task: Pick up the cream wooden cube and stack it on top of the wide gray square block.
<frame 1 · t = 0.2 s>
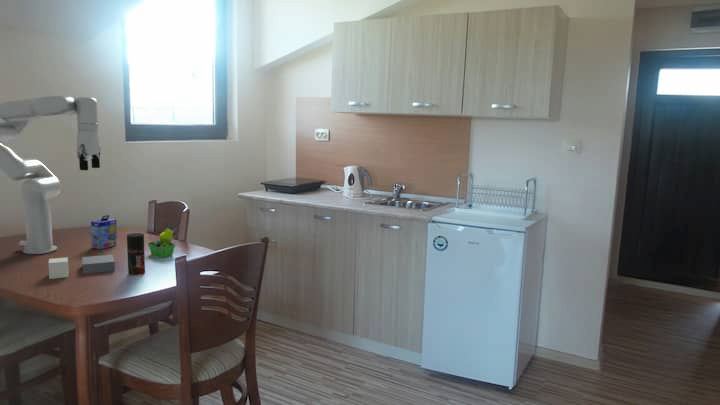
hand: (90, 169, 221), 37 cm above the table, tool pointing down, fingers open, 9 cm apart
green potted plant: (163, 255, 228), on the table
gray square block: (98, 269, 206), on the table
deodorant: (136, 273, 201), on the table
cream cube: (59, 275, 195), on the table
ink cartridge box: (104, 246, 239), on the table
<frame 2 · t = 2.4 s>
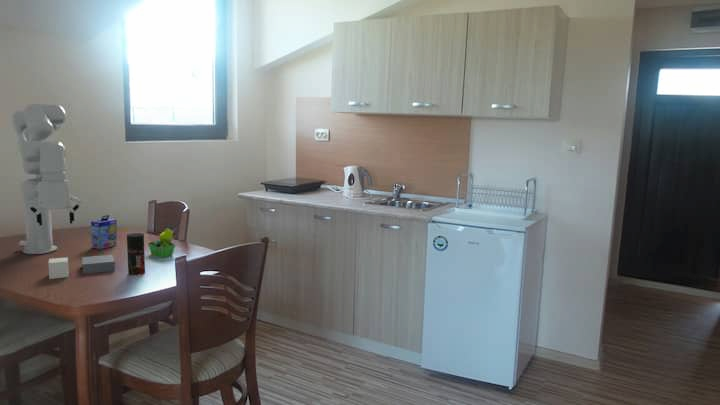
hand: (56, 223, 192), 20 cm above the table, tool pointing down, fingers open, 9 cm apart
nothing on the table moved.
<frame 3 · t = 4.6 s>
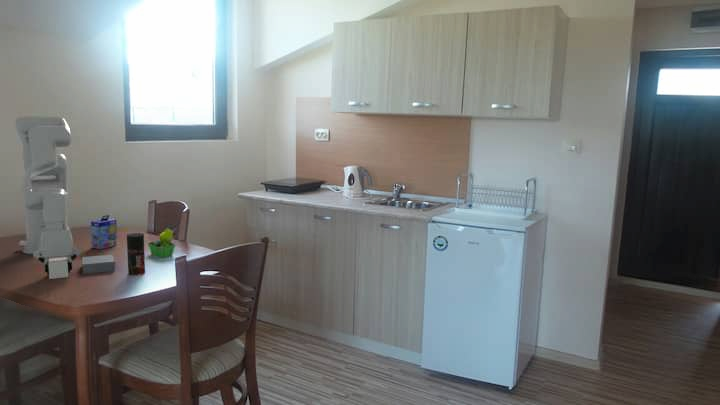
hand: (58, 272, 195), 1 cm above the table, tool pointing down, fingers closed on cream cube, 6 cm apart
cream cube: (59, 275, 195), on the table, touching gripper
everything else where it was.
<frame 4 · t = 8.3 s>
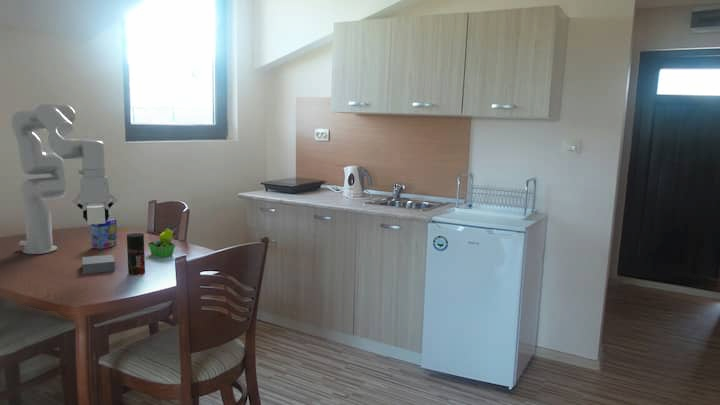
hand: (96, 219, 203), 19 cm above the table, tool pointing down, fingers closed on cream cube, 6 cm apart
cream cube: (96, 222, 203), point 18 cm above the table, touching gripper
everything else where it was.
when the fingers open (5 cm above the table, at t = 12.1 s): cream cube stays where it is, point 4 cm above the table.
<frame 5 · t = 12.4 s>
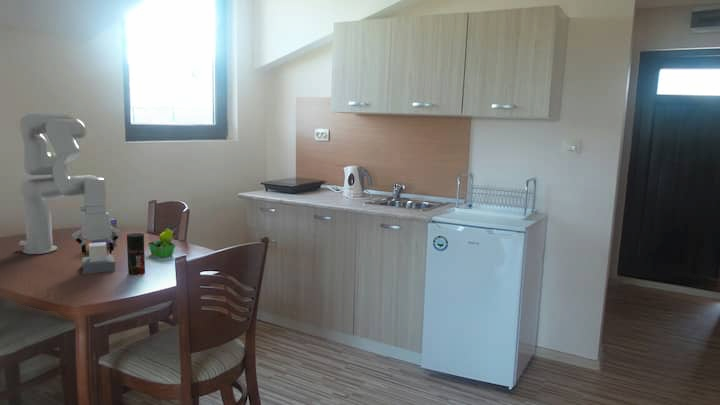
hand: (97, 253, 205), 6 cm above the table, tool pointing down, fingers open, 8 cm apart
cream cube: (98, 259, 205), point 4 cm above the table
everything else where it was.
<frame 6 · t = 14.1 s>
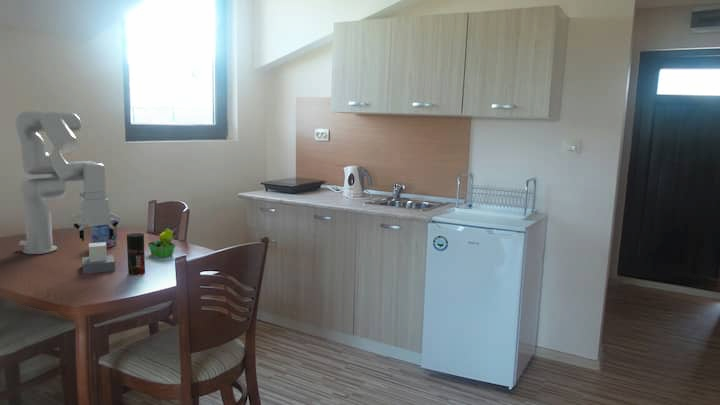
hand: (96, 239, 204), 12 cm above the table, tool pointing down, fingers open, 9 cm apart
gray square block: (98, 269, 206), on the table, touching cream cube
cream cube: (98, 259, 205), point 3 cm above the table, touching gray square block
everything else where it was.
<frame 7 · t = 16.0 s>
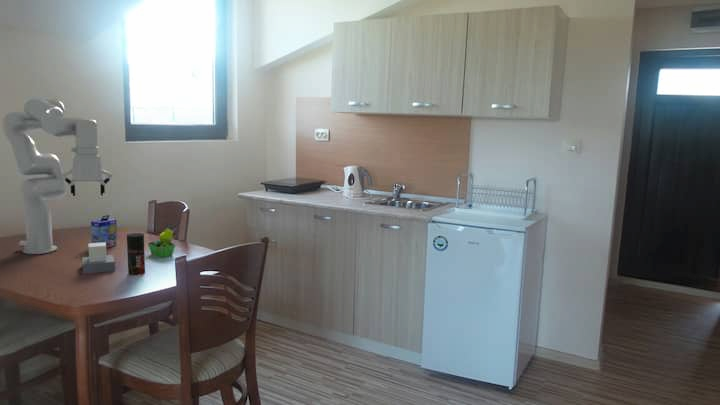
hand: (88, 195, 206), 28 cm above the table, tool pointing down, fingers open, 9 cm apart
nothing on the table moved.
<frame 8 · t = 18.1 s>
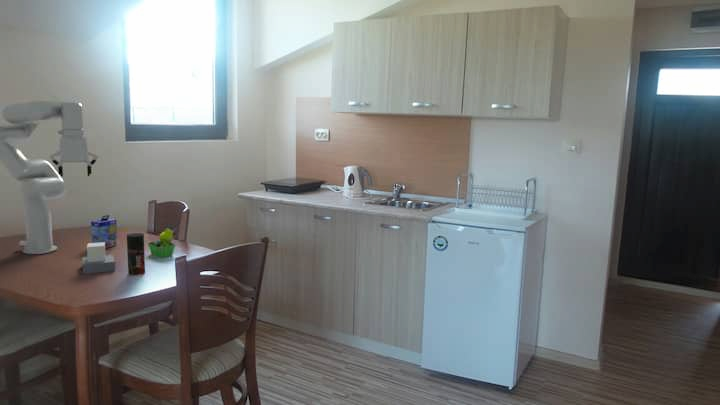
hand: (75, 176, 214), 34 cm above the table, tool pointing down, fingers open, 9 cm apart
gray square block: (98, 269, 206), on the table
cream cube: (96, 259, 205), point 4 cm above the table
everything else where it was.
at the end: cream cube inside the target area on the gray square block (0.6 cm from its centre), point 4.0 cm above the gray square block's base; cream cube tilted 0°; the gripper is holding nothing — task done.
